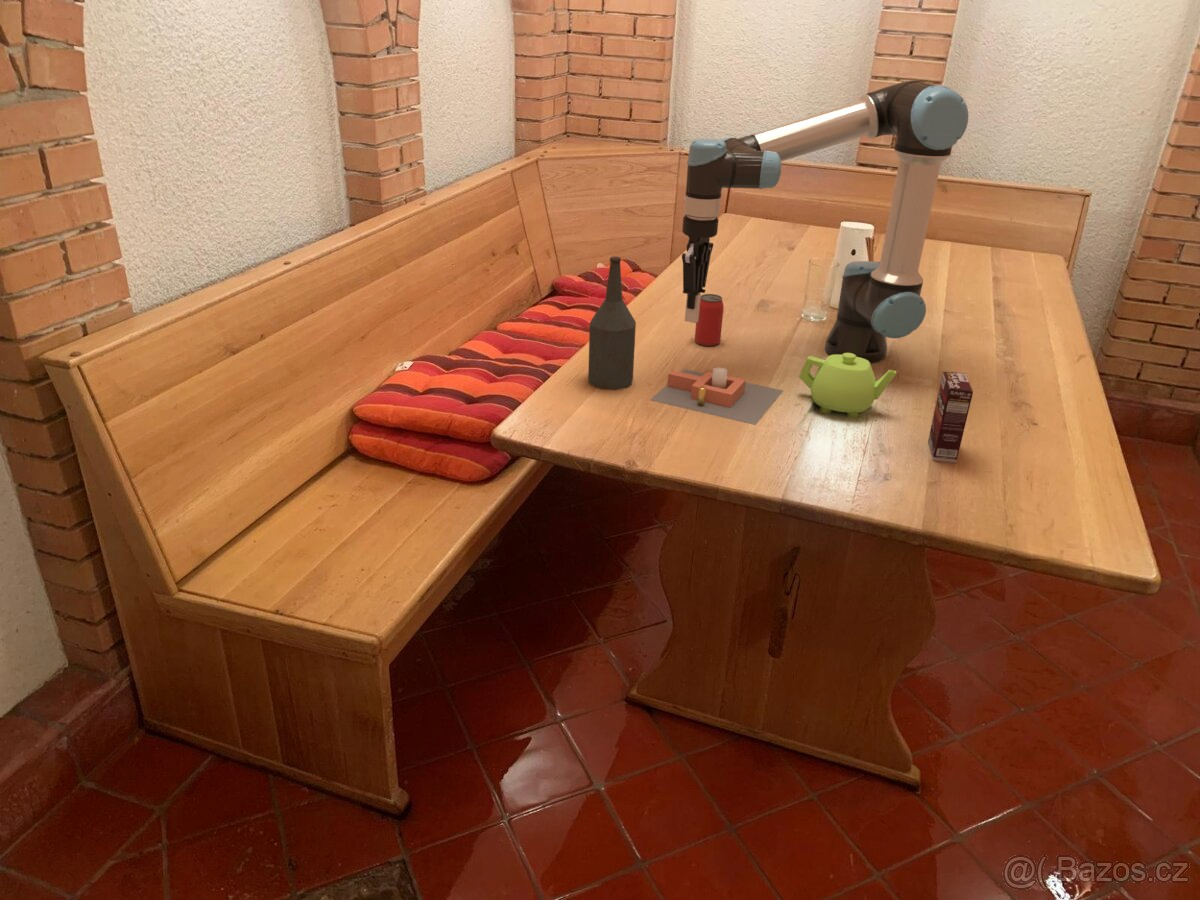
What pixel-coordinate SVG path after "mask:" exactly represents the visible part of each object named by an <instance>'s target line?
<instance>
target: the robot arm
mask: <svg viewBox="0 0 1200 900" xmlns="http://www.w3.org/2000/svg"><path fill="white" fill-rule="evenodd" d="M968 124H969V109H968V106H967V103H966V100H964V98H963V97H962V96H961V94H959V93H958V92H957V91H955V90H953V89H951V88H949V87H947V86H944V85H940V84H936V83H935V84H934V83H928V82H925V81H920V80H915V79H913V80H906V81H901V82H899V83H895V84H892V85H889V86H885V87H882V88H880V89H877V90H873V91H871V92H870V91H869V92H868V93H864V94H862V95H861V96H860V97H859V99H858V100H857V101H854V102H852V103H848V104H845V105H842V106H839V107H835V108H832V109H829V110H826V111H823V112H820V113H815V114H813V115H810V116H806V117H804V118H801V119H798V120H794V121H791V122H788V123H785V124H781V125H778V126H775V127H771V128H769V129H766V130H762V131H759V132H756V133H753V134H750V135H746V136H742V137H739V138H736V137H724V138H723V139H712V138H698V139H697V138H696V139H694V140H692V142H691V143H690V144H689V151H688V158H687V167H686V169H687V171H686V185H685V186H686V187H685V196H684V197H683V199H682V201H683V202H684V209H683V210H684V211H683V213H684V214H685V215H684V216H683V217H682V229H681V231H682V234H683V235H685V236H687V238H688V242H687V244H686V252H685V253H684V252H683V253H682V255H681V260H682V281H683V282H682V286H683V287H682V289H683V290H682V293H683V294H685V295H686V302H685V313H684V322H688V323H693V324H696V323H697V322H698V319H699V308H700V298H701V295H702V294H706V289H704V288H705V287H706V284H707V278H708V274H709V267H710V262H711V255H712V251H713V247H714V243H713V242H710V239H711V238H714V237H716V236H717V235H718V231H719V218H718V216H720V213H721V212H720V211H721V201H722V190H723V188H724V189H758V190H762V189H773V188H775V187H776V186H777V185H778V184H779V181H780V179H781V173H782V162H784V161H787V160H791V159H794V158H795V159H796V158H797V157H801V156H805V155H808V154H810V153H814V152H817V151H820V150H823V149H826V148H830V147H833V146H836V145H839V144H843V143H846V142H850V141H853V140H856V139H859V138H862V137H867V138H869V139H875V138H878V137H882V136H896V137H895V143H894V149H893V152H895V154H896V155H897V157H898V159H899V160H898V167H897V171H896V176H895V182H894V187H893V191H892V192H893V193H892V197H891V201H890V202H891V204H890V208H889V214H888V219H887V224H886V230H885V235H884V240H883V244H882V250H881V254H880V255H881V256H880V260H879V261H873V260H872V261H870V260H869V261H868V260H860V261H859V260H857V261H853V262H849V263H847V264H846V265H845V267H844V271H843V275H842V280H841V281H842V282H841V287H840V295H839V300H838V306H837V307H838V308H837V313H836V320H835V322H834V324H833V326H832V327H831V329H830V332H829V333H828V334H827V335H828V336H827V337H826V339H825V344H824V351H825V352H826V353H827V354H828V356H830V355H842V354H843V353H852V354H855V355H856V357H860V358H863V359H866V360H868V361H869V362H870V364H872V363H878V362H881V361H883V360H884V359H885V358H887V357H886V356H887V351H888V343H887V338H890V339H901V338H904V337H906V336H909V335H910V334H911V333H913V332H914V331H916V330H917V329H918V328H920V326H921V324H922V323H923V321H924V319H925V317H926V313H927V305H926V302H925V300H924V299H923V297H922V296H921V293H922V289H923V284H924V278H923V277H922V275H921V274H920V272H919V269H920V263H921V259H922V254H923V250H924V245H925V242H926V241H925V240H926V235H927V231H928V226H929V222H930V216H931V213H932V206H933V202H934V198H935V197H934V196H935V193H936V188H937V183H938V178H939V174H940V170H941V165H942V163H943V162H945V160H947V159H948V158H949V157H951V153H952V149H953V146H954V145H956V144H957V142H958V141H959V140H960V139H961V138H962V137H963V136H964V134H965V132H966V131H967V130H966V129H967V128H968Z"/></svg>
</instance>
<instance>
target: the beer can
mask: <svg viewBox="0 0 1200 900" xmlns="http://www.w3.org/2000/svg"><path fill="white" fill-rule="evenodd" d="M724 308H725V307H724V301H723V297H722V296H721V295H719V294H715V293H703V294H701V298H700V308H699V319H698V322H697V323H695V328H694V329H695V331H694V332H695V333H694V341H695V343H697V344H699V345H700V346H706V347H714V346H717V345H719V344H720V342H721V339H722V327H723V318H724V317H723V316H724Z"/></svg>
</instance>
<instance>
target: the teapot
mask: <svg viewBox="0 0 1200 900" xmlns="http://www.w3.org/2000/svg"><path fill="white" fill-rule="evenodd" d="M812 365H813V366H816V367H818V370H817V371H816V373H815V375H813V374H812V373H810V371H811V369H812ZM896 375H897V371H896V370H892V369H888V370H887V371H886V372H885V373H884V374H883V375H882V376H881V377H879V379H878V380H877V381H876V378H875V375H874V370H873V368H872V365H871V363H870V362H869V361H868V360H866V359H863V358H860V357H856V355H855V354H852V353H843V354H842V355H828V356H827V357H826V358H825V359H823V358H819V357H815V356H813V355H808V356H807V358H806V359H805V362H804V364H803V366H802V368H801V371H800V372H799V375H798V378H799V379H800V380H801V381H802V383H804V384H805V385H806V387H808V388H809V389H810V395H811V398H812V400H813V402H814V403H815V404H816V405H817V406H819V408H818V411H819V412H820V413H822V414H830V413H831V411H835V412H841V413H847V416H848V418H852V419H857V418H860V414H859V413H864V412H866V411H867V410H869V408H870V407H871V406H872V405H873V404H874V401H875V400H878V399H879V397H880V396H881V395H882V394H883V392H884V391H885V389H886V388H887V387H888V385H890V383H891V381H892V380H893V379H894V378H895V376H896Z"/></svg>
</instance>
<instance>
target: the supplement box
mask: <svg viewBox="0 0 1200 900" xmlns="http://www.w3.org/2000/svg"><path fill="white" fill-rule="evenodd" d="M941 374H942V375H941V378H940V379H941V380H940V384H939V389H938V393H937V396H936V397H937V398H936V402H935V407H934V411H933V417H932V422H931V426H930V431H929V436H928V440H927V443H928V447H929V450H930V454H931V458H932V461H936V462H942V463H943V462H945V463H950V464H951V463H953V464H956V463H957V462H958V458H959V453H960V449H961V445H962V441H963V435H964V432H965V428H966V424H967V419H968V416H969V410H970V407H971V403H972V398H973V394H974V390H973V389H972V386H971V384H970V381H969V379H968V378H969V377H968V374H967V373H963V372H962V373H961V372H954V371H953V372H952V371H942V373H941Z"/></svg>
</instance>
